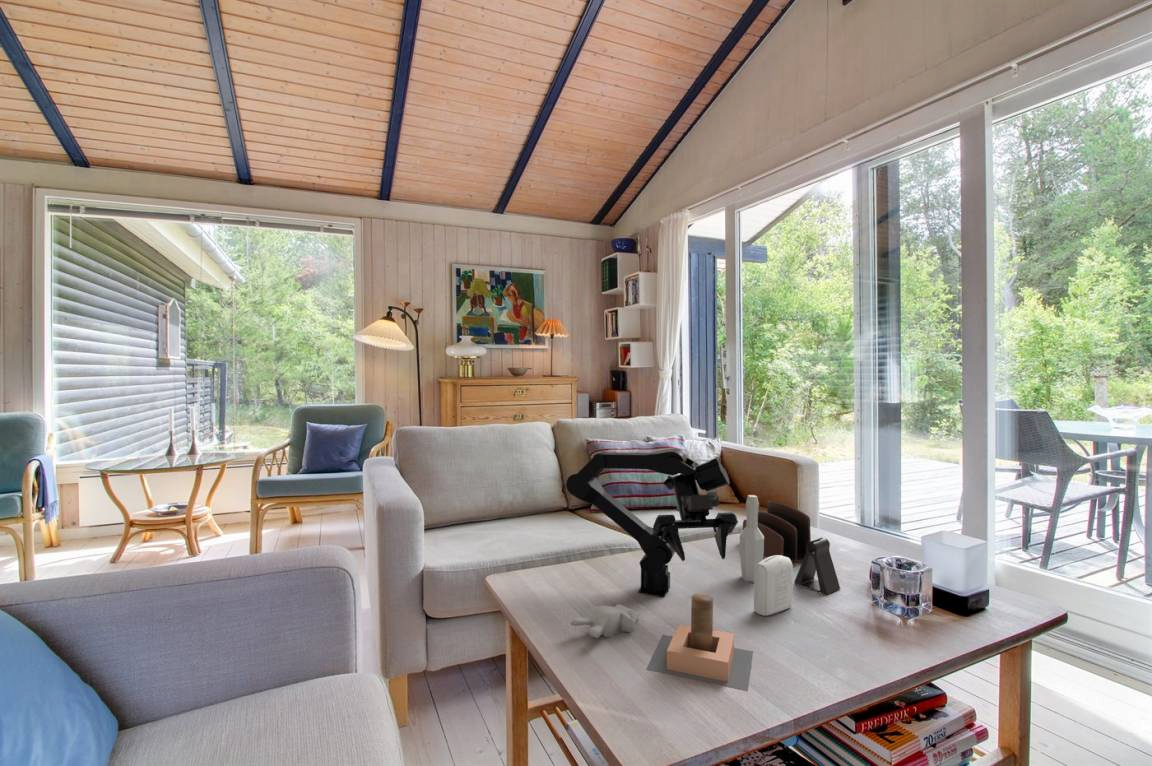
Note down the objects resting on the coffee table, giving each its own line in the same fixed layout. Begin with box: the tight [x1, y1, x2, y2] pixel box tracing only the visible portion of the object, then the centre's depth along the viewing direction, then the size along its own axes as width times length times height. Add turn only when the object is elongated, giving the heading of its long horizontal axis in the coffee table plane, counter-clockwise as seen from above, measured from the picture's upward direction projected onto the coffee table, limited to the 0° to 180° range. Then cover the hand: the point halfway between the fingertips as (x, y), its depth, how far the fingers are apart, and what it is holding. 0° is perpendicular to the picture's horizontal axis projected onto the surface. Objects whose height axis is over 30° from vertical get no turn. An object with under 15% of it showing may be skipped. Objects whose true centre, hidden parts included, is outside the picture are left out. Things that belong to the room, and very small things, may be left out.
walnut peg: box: [690, 593, 714, 652], centre depth 106 cm, size 4×4×12 cm
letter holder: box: [742, 500, 812, 565], centre depth 167 cm, size 10×20×14 cm, turn 16°
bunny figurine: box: [570, 604, 640, 638], centre depth 118 cm, size 10×5×15 cm
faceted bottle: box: [739, 494, 764, 583], centre depth 146 cm, size 6×6×22 cm
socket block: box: [667, 624, 735, 682], centre depth 106 cm, size 11×11×4 cm
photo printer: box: [753, 555, 794, 617], centre depth 128 cm, size 10×4×12 cm, turn 123°
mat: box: [646, 634, 754, 692], centre depth 106 cm, size 18×14×1 cm
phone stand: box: [793, 537, 841, 596], centre depth 142 cm, size 9×6×12 cm, turn 35°
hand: (703, 559), depth 123 cm, fingers open, 9 cm apart
